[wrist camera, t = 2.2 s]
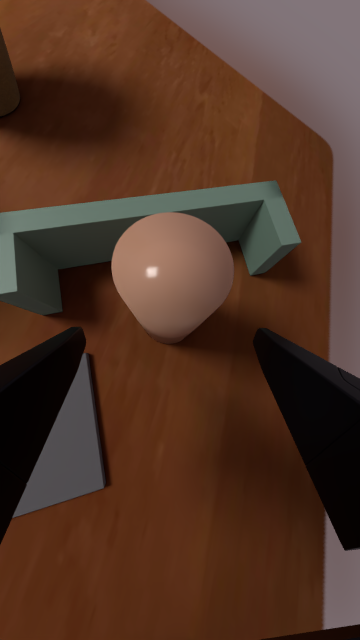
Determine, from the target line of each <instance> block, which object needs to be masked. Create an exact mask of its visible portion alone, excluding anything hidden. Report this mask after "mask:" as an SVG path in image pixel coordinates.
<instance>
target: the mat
mask: <svg viewBox="0 0 360 640" xmlns="http://www.w3.org/2000/svg"><path fill="white" fill-rule="evenodd" d="M105 484H106V480H105V472H104V465H103V458H102V451H101V443H100V436H99V429H98V421H97V414H96V407H95V399H94V392H93V385H92V377H91V370H90V363H89V355H88V353H84V354H83V355H82V359H81V362H80V365H79V368H78V371H77V374H76V376H75V378H74V380H73V383H72V385H71V387H70V389H69V392H68V394H67V396H66V398H65V401H64V403H63V405H62V407H61V410H60V412H59V414H58V416H57V418H56V421H55V423H54V425H53V427H52V430H51V432H50V434H49V436H48V439H47V441H46V443H45V445H44V448H43V450H42V452H41V454H40V456H39V459H38V461H37V463H36V465H35V468H34V470H33V472H32V474H31V477H30V479H29V481H28V483H27V486H26V488H25V490H24V493H23V495H22V497H21V499H20V502H19V504H18V506H17V508H16V511H15V513H14V515H13V517H12V518H14V517H17V516H20V515H23V514H26V513H29V512H32V511H35V510H38V509H41V508H44V507H47V506H50V505H54V504H57V503H60V502H63V501H66V500H69V499H72V498H75V497H78V496H81V495H84V494H87V493H90V492H93V491H97V490H100V489H103V488H104V487H105Z"/></svg>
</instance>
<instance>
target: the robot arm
mask: <svg viewBox="0 0 360 640" xmlns="http://www.w3.org/2000/svg"><path fill="white" fill-rule="evenodd" d="M253 345H254V348H255V351H256V354H257V357H258V360H259V363H260V366H261V369H262V371H263V373H264V376H265V378H266V380H267V382H268V384H269V387H270V389H271V391H272V393H273V395H274V398H275V400H276V402H277V404H278V406H279V409H280V411H281V413H282V415H283V417H284V419H285V422H286V424H287V426H288V428H289V430H290V433H291V435H292V437H293V439H294V441H295V444H296V446H297V448H298V450H299V452H300V455H301V457H302V459H303V461H304V463H305V465H306V468H307V470H308V472H309V475H310V477H311V479H312V481H313V483H314V486H315V488H316V490H317V492H318V494H319V496H320V499H321V501H322V503H323V505H324V507H325V510H326V512H327V514H328V516H329V518H330V521H331V523H332V525H333V527H334V529H335V532H336V534H337V536H338V538H339V540H340V542H341V544H342V546H343V548H344V550H345V551H347V550H356V549H360V379H359V378H357V377H356V376H354V375H352V374H350V373H348V372H346V371H344V370H343V369H341V368H338V367H336V366H335V365H333V364H331V363H330V362H328V361H326V360H324V359H322V358H320V357H318V356H317V355H315V354H313V353H311V352H309V351H307V350H306V349H304V348H302V347H300V346H298V345H296V344H294V343H293V342H291V341H289V340H287V339H285V338H283V337H282V336H280V335H278V334H276V333H274V332H272V331H270V330H269V329H267V328H259V329H257V331H256V334H255V337H254V340H253ZM85 346H86V338H85V335H84V332H83V329H82V328H81V327H71V328H69V329H67V330H65V331H64V332H62V333H60V334H58V335H56V336H54V337H52V338H50V339H49V340H47V341H45V342H43V343H41V344H39V345H37V346H35V347H34V348H32V349H30V350H28V351H26V352H24V353H22V354H21V355H19V356H17V357H15V358H13V359H11V360H9V361H7V362H6V363H4V364H2V365H0V544H1V542H2V540H3V537H4V535H5V533H6V531H7V528H8V526H9V524H10V522H11V519H12V517H13V515H14V513H15V511H16V508H17V506H18V504H19V502H20V499H21V497H22V495H23V493H24V490H25V488H26V486H27V483H28V481H29V479H30V477H31V474H32V472H33V470H34V468H35V465H36V463H37V461H38V459H39V456H40V454H41V452H42V450H43V448H44V445H45V443H46V441H47V439H48V436H49V434H50V432H51V430H52V427H53V425H54V423H55V421H56V418H57V416H58V414H59V412H60V410H61V407H62V405H63V403H64V401H65V398H66V396H67V394H68V392H69V389H70V387H71V385H72V383H73V380H74V378H75V376H76V374H77V371H78V368H79V365H80V362H81V359H82V355H83V352H84V349H85ZM261 640H360V624H359V625H353V626H346V627H339V628H333V629H326V630H320V631H313V632H306V633H300V634H293V635H287V636H280V637H274V638H267V639H261Z"/></svg>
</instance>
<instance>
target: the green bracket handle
mask: <svg viewBox="0 0 360 640" xmlns="http://www.w3.org/2000/svg"><path fill="white" fill-rule="evenodd" d="M166 212H174V213H183V214H187V215H191V216H193V217H196V218H199V219H200V220H202V221H204V222H206V223H207V224H209V225H210V226H212V227H213V228H214V229H215V230H216V231H217V232H218V233H219V234H220V235H221V236H222V238H223V239H224V240H225V242H231V241H237V240H239V243H240V246H241V249H242V252H243V255H244V258H245V261H246V264H247V267H248V270H249V273H250V276H251V275H256V274H261V273H265V272H266V271H268V270H269V269H270V268H271V267H272V266H274V265H275V264H276V263H277V262H278V261H279V260H281V259H282V258H283V257H284V256H285V255H287V254H288V253H289V252H290V251H291V250H293V249H294V248H295V247H296V246H297V245H298V244H300V243H301V240H300V238H299V236H298V233H297V231H296V228H295V226H294V223H293V221H292V218H291V216H290V213H289V211H288V209H287V206H286V204H285V201H284V199H283V196H282V194H281V191H280V189H279V186H278V184H277V182H276V181H268V182H260V183H251V184H243V185H234V186H225V187H217V188H208V189H200V190H191V191H183V192H174V193H166V194H157V195H149V196H140V197H132V198H123V199H115V200H106V201H98V202H89V203H80V204H72V205H63V206H55V207H46V208H38V209H29V210H21V211H12V212H4V213H0V301H3V302H6V303H8V304H11V305H14V306H17V307H20V308H23V309H26V310H29V311H32V312H34V313H37V314H40V315H47V314H52V313H58V312H63V310H62V302H61V293H60V284H59V276H58V269H64V268H70V267H76V266H83V265H89V264H95V263H101V262H107V261H112V257H113V252H114V249H115V246H116V244H117V242H118V240H119V239H120V237H121V236H122V235H123V233H124V232H125V231H126V230H127V229H128V228H129V227H130V226H132V225H133V224H134V223H136V222H137V221H139V220H141V219H143V218H145V217H147V216H150V215H154V214H158V213H166Z"/></svg>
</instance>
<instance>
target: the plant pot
mask: <svg viewBox="0 0 360 640" xmlns="http://www.w3.org/2000/svg"><path fill="white" fill-rule="evenodd" d="M19 101H20V94H19V90H18V86H17V82H16V79H15V75H14V71H13V68H12V65H11V61H10V58H9V54H8V51H7V48H6V45H5V41H4V38H3V35H2V32H1V29H0V117H1V116H4V115H6V114H8V113H10V112H12V111H13V110H14V109H15V108H16V107H17V106H18V104H19Z"/></svg>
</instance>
